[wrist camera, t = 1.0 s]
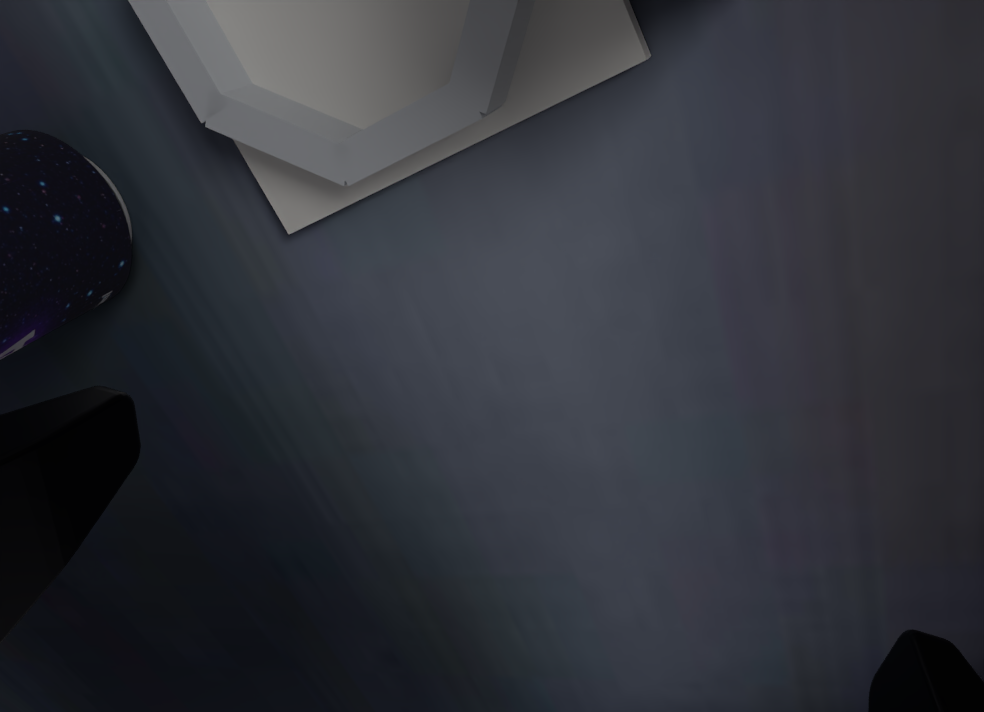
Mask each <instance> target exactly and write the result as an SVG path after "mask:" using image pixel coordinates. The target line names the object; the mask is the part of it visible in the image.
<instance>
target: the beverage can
mask: <svg viewBox="0 0 984 712" xmlns="http://www.w3.org/2000/svg"><path fill="white" fill-rule="evenodd" d="M131 244H132V228H131V222H130V217H129V214H128V211H127V208H126V205H125V203H124V201H123V199H122V197H121V195H120V193H119V192H118V190H117V188H116V187H115V185H114V184H113V183H112V181H111V180H110V179H109V178H108V176H107V175H106V174H105V173H104V172H103V171H102V170H101V169H100V168H99V167H98V166H96V165H95V164H94V163H93V162H92V161H90V160H89V159H87V158H85V157H84V156H82V155H81V154H80V153H78V152H77V151H76V150H74V149H73V148H72V147H70V146H69V145H67V144H66V143H64V142H62V141H61V140H59V139H57V138H55V137H53V136H50V135H48V134H45V133H41V132H37V131H31V130H17V131H12V132H8V133H5V134H1V135H0V359H2V358H4V357H6V356H8V355H9V354H11V353H13V352H15V351H17V350H18V349H20V348H22V347H24V346H26V345H28V344H29V343H31V342H33V341H35V340H37V339H38V338H40V337H42V336H44V335H46V334H48V333H49V332H51V331H53V330H55V329H57V328H58V327H60V326H62V325H64V324H66V323H68V322H69V321H71V320H73V319H75V318H77V317H78V316H80V315H82V314H84V313H86V312H88V311H89V310H91V309H93V308H95V307H97V306H98V305H100V304H102V303H104V302H106V301H108V300H109V299H111V298H113V297H114V296H115V295H116V294H118V293H119V292H120V290H121V289H122V288H123V286H124V285H125V283H126V281H127V279H128V276H129V273H130V268H131V261H132V245H131Z"/></svg>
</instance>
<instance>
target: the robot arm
mask: <svg viewBox="0 0 984 712" xmlns="http://www.w3.org/2000/svg"><path fill="white" fill-rule="evenodd" d="M140 448H141V444H140V437H139V430H138V424H137V417H136V410H135V404H134V401H133V399H132V398H131V397H130V395H128V394H127V393H124V392H121V391H118V390H114V389H111V388H108V387H104V386H94V387H90V388H87V389H83V390H80V391H77V392H74V393H70V394H67V395H64V396H60V397H57V398H54V399H51V400H47V401H44V402H41V403H38V404H34V405H31V406H28V407H25V408H21V409H18V410H15V411H11V412H8V413H5V414H2V415H0V643H1V642H2V641H3V640H4V639H5V637H6V636H7V635H8V634H9V633H10V632H11V630H12V629H13V628H14V627H15V626H16V624H17V623H18V622H19V621H20V620H21V619H22V617H23V616H24V615H25V614H26V613H27V611H28V610H29V609H30V608H31V607H32V606H33V604H34V603H35V602H36V601H37V600H38V598H39V597H40V596H41V595H42V594H43V593H44V591H45V590H46V589H47V588H48V587H49V585H50V584H51V583H52V582H53V581H54V579H55V578H56V577H57V576H58V574H59V573H60V572H61V571H62V569H63V568H64V567H65V566H66V564H67V563H68V562H69V560H70V559H71V557H72V556H73V555H74V553H75V552H76V551H77V549H78V548H79V546H80V545H81V543H82V542H83V541H84V539H85V538H86V536H87V535H88V533H89V532H90V530H91V529H92V527H93V526H94V525H95V523H96V522H97V520H98V519H99V517H100V516H101V514H102V513H103V511H104V510H105V509H106V507H107V506H108V504H109V503H110V501H111V500H112V498H113V497H114V495H115V494H116V493H117V491H118V490H119V488H120V487H121V485H122V484H123V482H124V481H125V479H126V478H127V477H128V475H129V474H130V472H131V471H132V469H133V468H134V466H135V464H136V462H137V460H138V458H139V454H140ZM868 712H984V682H983V681H982V680H981V678H980V677H979V676H978V675H977V673H976V672H975V671H974V669H973V668H972V667H971V665H970V664H969V663H968V662H967V660H966V659H965V658H964V656H963V655H962V654H961V653H960V651H959V650H958V649H957V648H956V647H955V646H954V645H953V644H952V643H951V642H950V641H948V640H946V639H944V638H940V637H937V636H934V635H930V634H927V633H924V632H920V631H917V630H906V631H905V632H903V633H902V634H901V635H900V637H899V638H898V639H897V641H896V642H895V644H894V646H893V647H892V649H891V650H890V652H889V653H888V655H887V657H886V658H885V660H884V661H883V663H882V664H881V666H880V668H879V669H878V671H877V672H876V674H875V676H874V678H873V680H872V683H871V687H870V692H869V711H868Z"/></svg>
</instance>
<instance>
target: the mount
mask: <svg viewBox="0 0 984 712" xmlns="http://www.w3.org/2000/svg"><path fill="white" fill-rule="evenodd" d="M128 1H129V3H130V4H131V6H132V8H133V9H134V11H135V13H136V14H137V16H138V18H139V19H140V21H141V23H142V24H143V26H144V28H145V29H146V31H147V33H148V35H149V36H150V38H151V40H152V41H153V43H154V45H155V46H156V48H157V50H158V51H159V53H160V55H161V56H162V58H163V60H164V61H165V63H166V65H167V67H168V68H169V70H170V72H171V73H172V75H173V77H174V78H175V80H176V82H177V83H178V85H179V87H180V88H181V90H182V92H183V93H184V95H185V97H186V98H187V100H188V102H189V104H190V105H191V107H192V109H193V110H194V112H195V114H196V115H197V117H198V119H199V120H200V122H201V123H204V122H206V125H205V127H207V128H209V129H211V130H214V131H216V132H218V133H221V134H223V135H225V136H228V137H230V138H232V139H233V140H234V142H235V144H236V146H237V147H238V149H239V151H240V152H241V154H242V156H243V158H244V159H245V161H246V163H247V164H248V166H249V168H250V169H251V171H252V173H253V175H254V176H255V178H256V180H257V181H258V183H259V185H260V187H261V188H262V190H263V192H264V193H265V195H266V197H267V198H268V200H269V202H270V204H271V205H272V207H273V209H274V210H275V212H276V214H277V216H278V217H279V219H280V221H281V222H282V224H283V226H284V228H285V229H286V231H287V233H288V234H291V233H293V232H295V231H297V230H299V229H301V228H303V227H306V226H308V225H310V224H312V223H314V222H316V221H318V220H320V219H322V218H324V217H326V216H328V215H330V214H332V213H334V212H336V211H338V210H340V209H342V208H344V207H346V206H349V205H351V204H353V203H355V202H357V201H359V200H361V199H363V198H365V197H367V196H369V195H371V194H373V193H375V192H377V191H379V190H381V189H383V188H385V187H387V186H389V185H392V184H394V183H396V182H398V181H400V180H402V179H404V178H406V177H408V176H410V175H412V174H414V173H416V172H418V171H420V170H422V169H424V168H426V167H428V166H430V165H432V164H435V163H437V162H439V161H441V160H443V159H445V158H447V157H449V156H451V155H453V154H455V153H457V152H459V151H461V150H463V149H465V148H467V147H469V146H471V145H473V144H475V143H478V142H480V141H482V140H484V139H486V138H488V137H490V136H492V135H494V134H496V133H498V132H500V131H502V130H504V129H506V128H508V127H510V126H512V125H514V124H516V123H518V122H521V121H523V120H525V119H527V118H529V117H531V116H533V115H535V114H537V113H539V112H541V111H543V110H545V109H547V108H549V107H551V106H553V105H555V104H557V103H559V102H562V101H564V100H566V99H568V98H570V97H572V96H574V95H576V94H578V93H580V92H582V91H584V90H586V89H588V88H590V87H592V86H594V85H596V84H598V83H600V82H602V81H605V80H607V79H609V78H611V77H613V76H615V75H617V74H619V73H621V72H623V71H625V70H627V69H629V68H631V67H633V66H635V65H637V64H639V63H641V62H643V61H645V60H647V59H648V58H649V57H651V54H650V51H649V49H648V46H647V44H646V41H645V39H644V36H643V34H642V31H641V29H640V26H639V24H638V21H637V19H636V17H635V14H634V12H633V9H632V7H631V4H630V2H629V0H128Z"/></svg>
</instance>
